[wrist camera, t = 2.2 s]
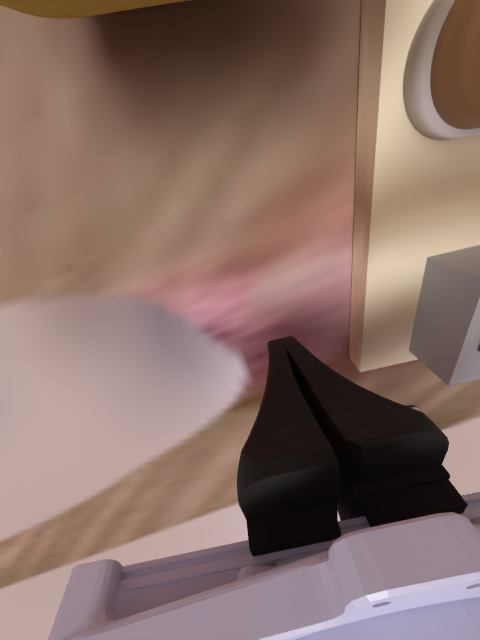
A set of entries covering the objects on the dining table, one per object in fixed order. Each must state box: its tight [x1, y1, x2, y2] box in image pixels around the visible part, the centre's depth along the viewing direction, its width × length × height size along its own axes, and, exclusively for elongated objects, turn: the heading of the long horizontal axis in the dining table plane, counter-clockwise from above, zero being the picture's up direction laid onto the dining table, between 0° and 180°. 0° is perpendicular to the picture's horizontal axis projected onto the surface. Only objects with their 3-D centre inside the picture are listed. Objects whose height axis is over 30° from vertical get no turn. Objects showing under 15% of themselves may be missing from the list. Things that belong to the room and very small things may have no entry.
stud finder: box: [409, 245, 480, 386], centre depth 12 cm, size 6×4×3 cm, turn 12°
